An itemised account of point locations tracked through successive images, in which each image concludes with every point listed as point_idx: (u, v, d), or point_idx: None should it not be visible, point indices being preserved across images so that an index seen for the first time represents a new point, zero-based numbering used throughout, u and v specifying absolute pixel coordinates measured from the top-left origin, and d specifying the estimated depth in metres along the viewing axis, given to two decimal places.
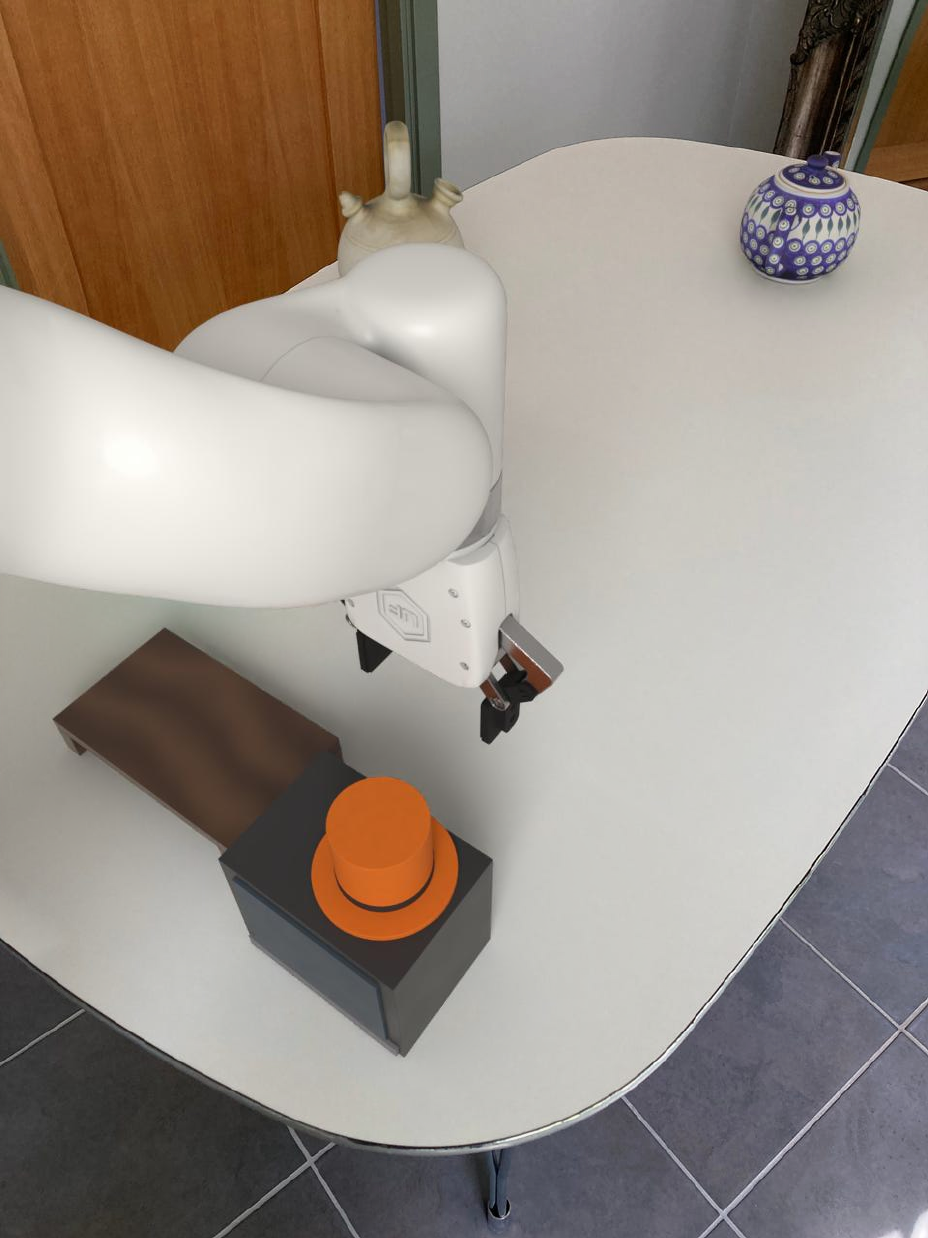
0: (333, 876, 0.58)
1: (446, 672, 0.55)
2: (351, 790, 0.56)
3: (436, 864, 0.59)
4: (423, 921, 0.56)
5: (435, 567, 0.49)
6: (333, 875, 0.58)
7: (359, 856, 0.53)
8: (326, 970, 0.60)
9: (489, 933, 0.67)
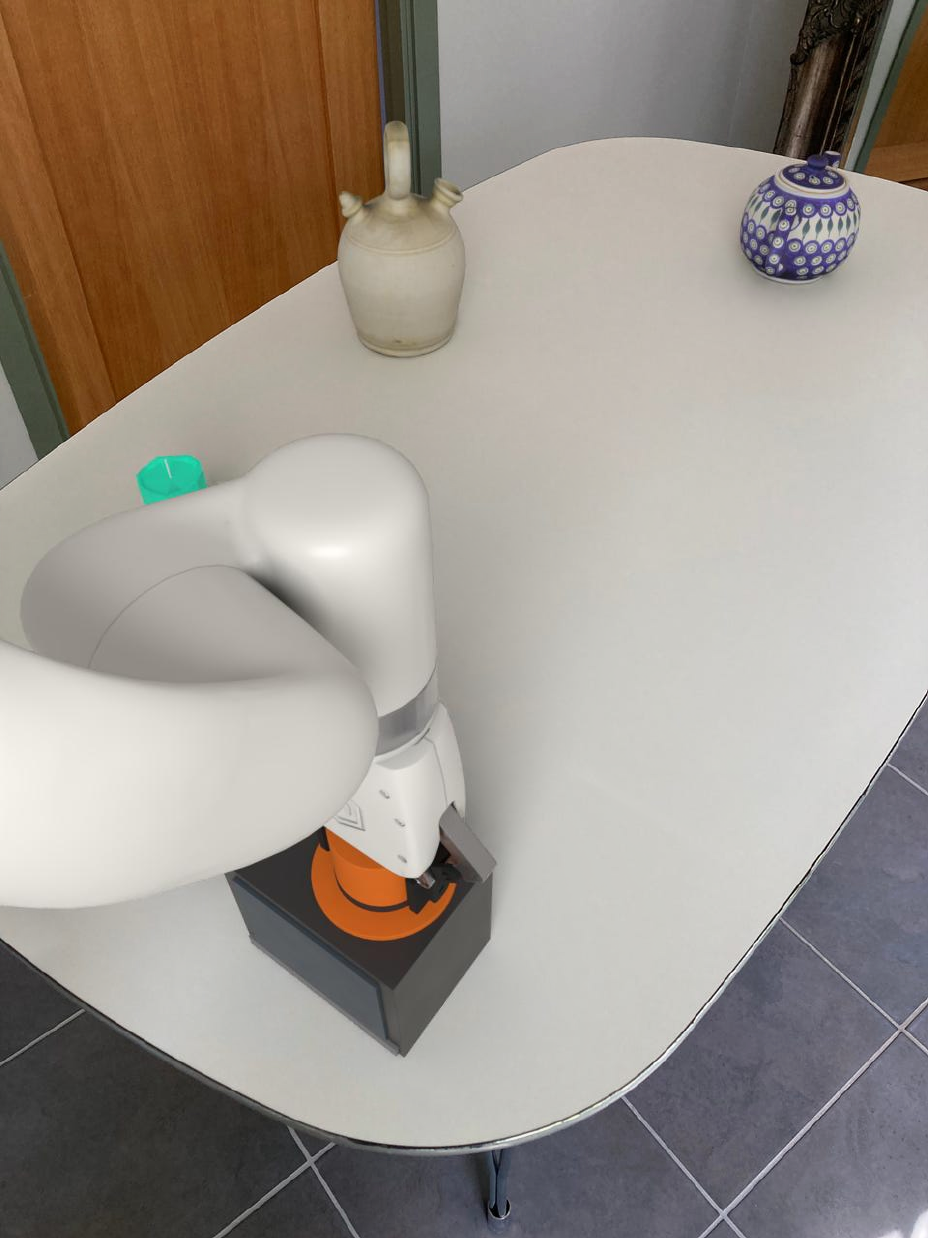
0: (333, 876, 0.58)
1: (384, 860, 0.50)
2: None
3: None
4: (423, 920, 0.56)
5: None
6: (333, 875, 0.58)
7: (359, 856, 0.53)
8: (326, 970, 0.60)
9: (489, 933, 0.67)
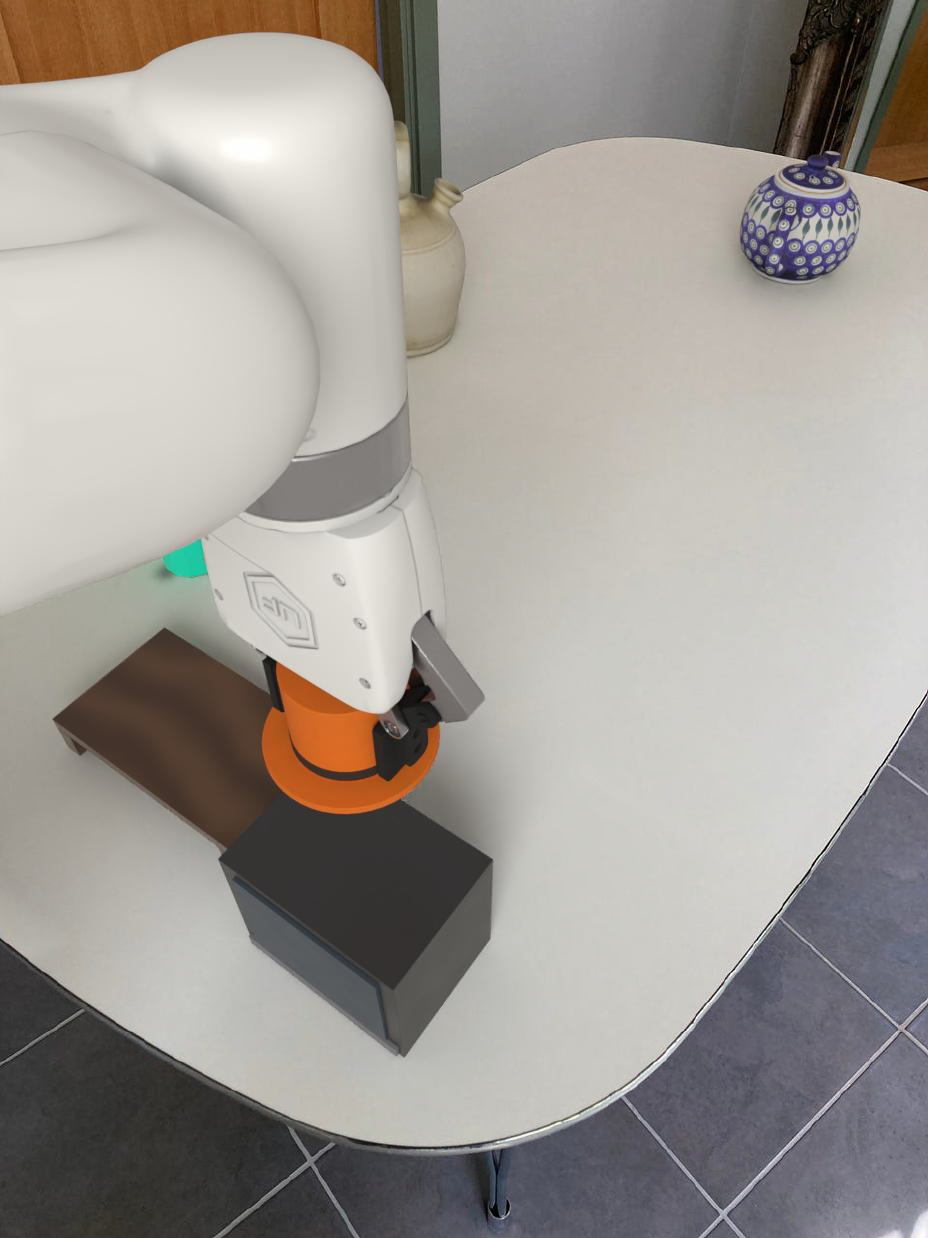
0: (288, 741, 0.48)
1: (343, 691, 0.39)
2: None
3: None
4: (395, 791, 0.46)
5: (312, 542, 0.34)
6: (288, 740, 0.48)
7: (316, 699, 0.43)
8: (326, 970, 0.60)
9: (489, 933, 0.67)
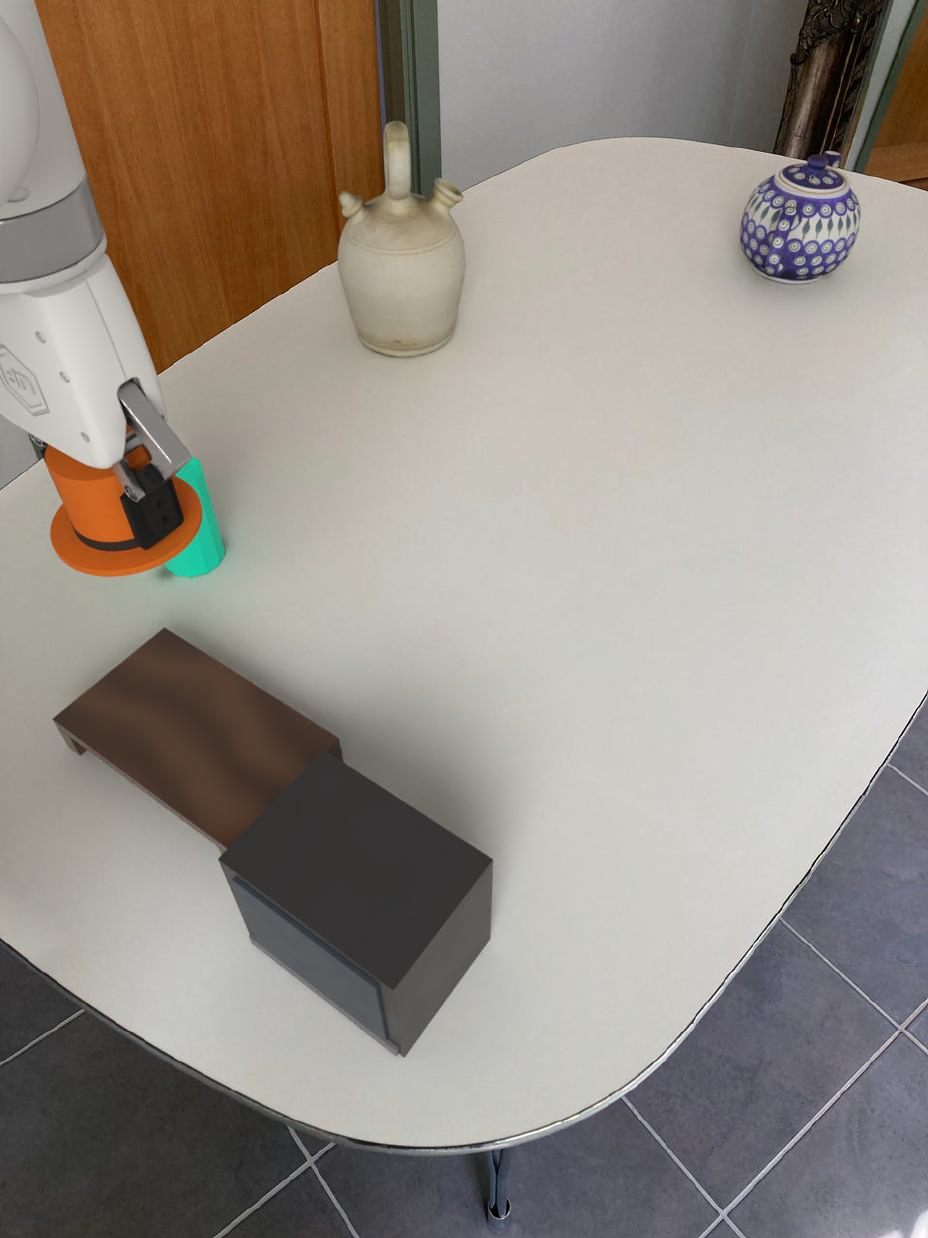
0: (72, 525, 0.58)
1: (76, 450, 0.49)
2: None
3: None
4: (153, 558, 0.56)
5: (15, 304, 0.43)
6: (72, 524, 0.58)
7: (72, 471, 0.53)
8: (326, 970, 0.60)
9: (489, 933, 0.67)
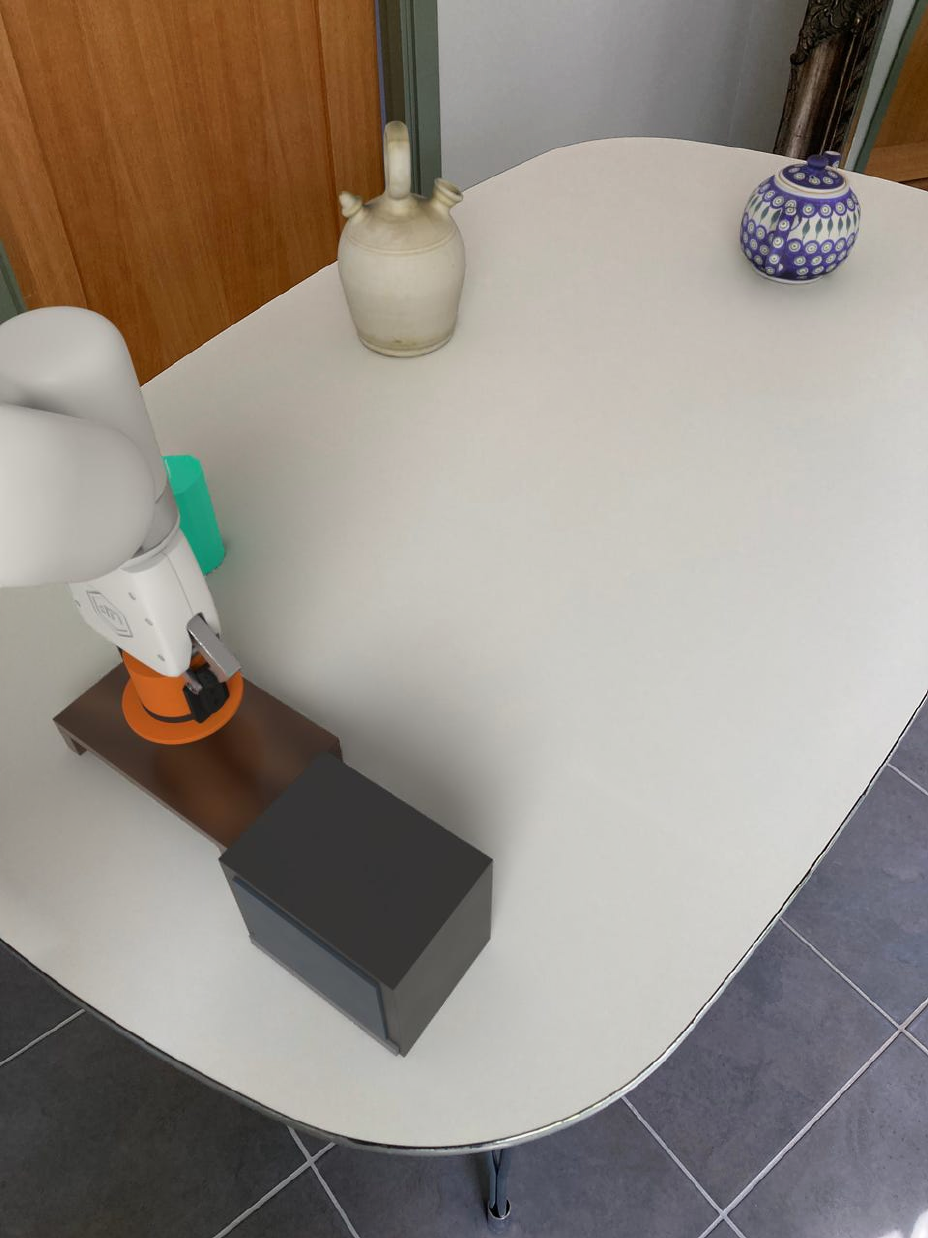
0: (139, 698, 0.72)
1: (152, 663, 0.63)
2: None
3: None
4: (206, 729, 0.70)
5: (114, 574, 0.58)
6: (140, 697, 0.72)
7: (145, 669, 0.67)
8: (326, 970, 0.60)
9: (489, 933, 0.67)
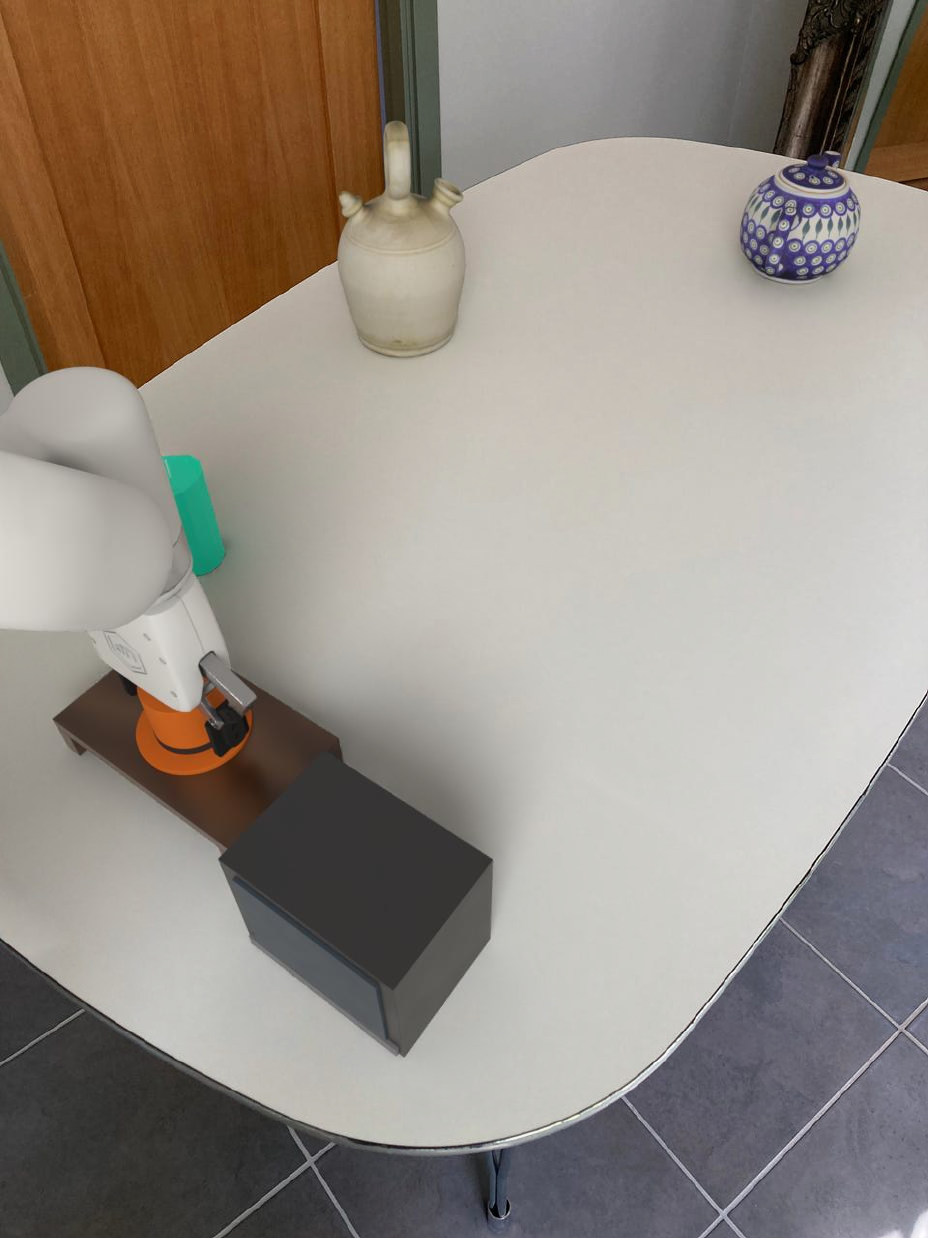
0: (153, 730, 0.75)
1: (165, 698, 0.66)
2: None
3: None
4: (217, 760, 0.73)
5: None
6: (153, 729, 0.75)
7: (159, 704, 0.70)
8: (326, 970, 0.60)
9: (489, 933, 0.67)
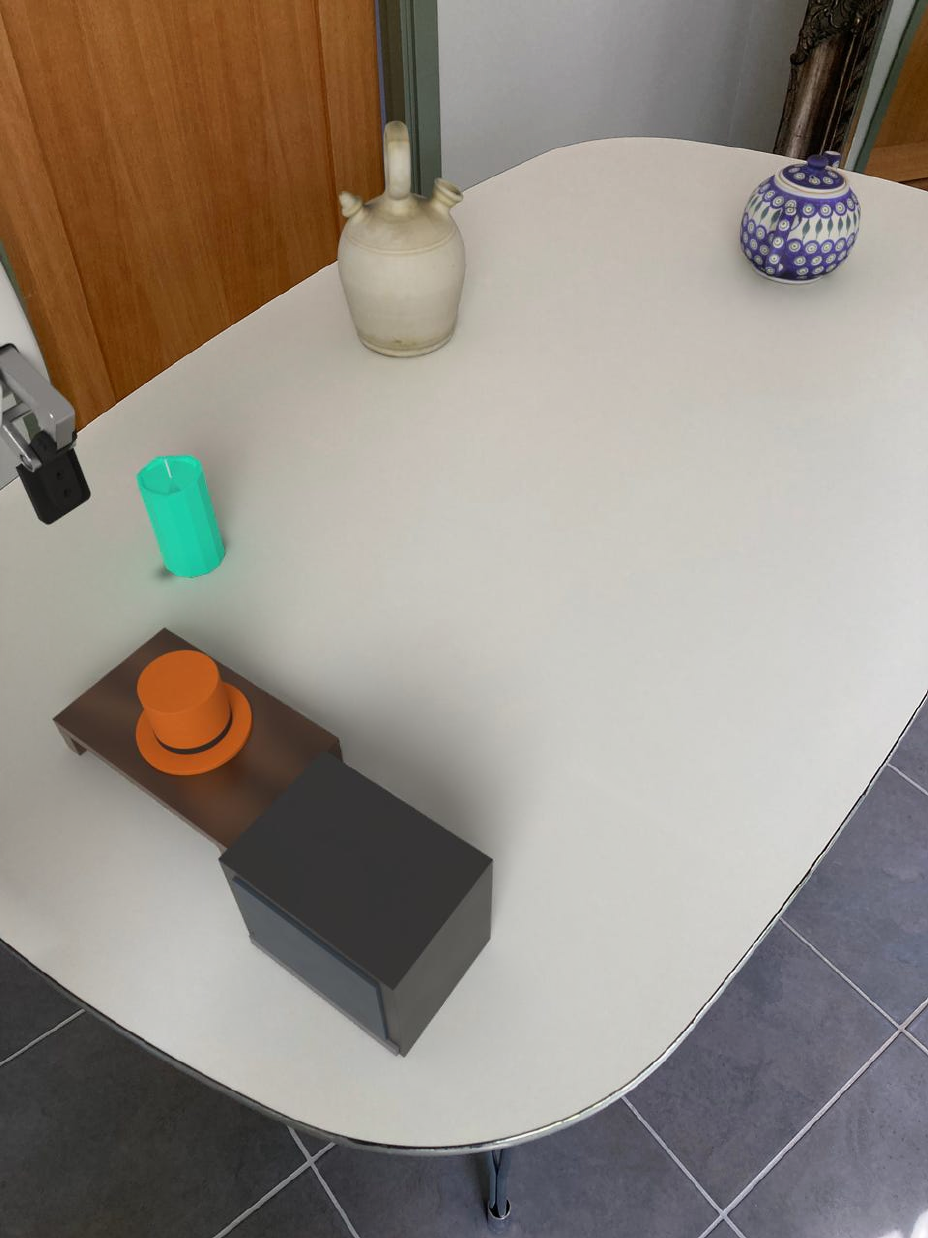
0: (153, 730, 0.75)
1: None
2: (161, 659, 0.73)
3: (234, 721, 0.76)
4: (217, 760, 0.73)
5: None
6: (153, 729, 0.75)
7: (159, 704, 0.70)
8: (326, 970, 0.60)
9: (489, 933, 0.67)
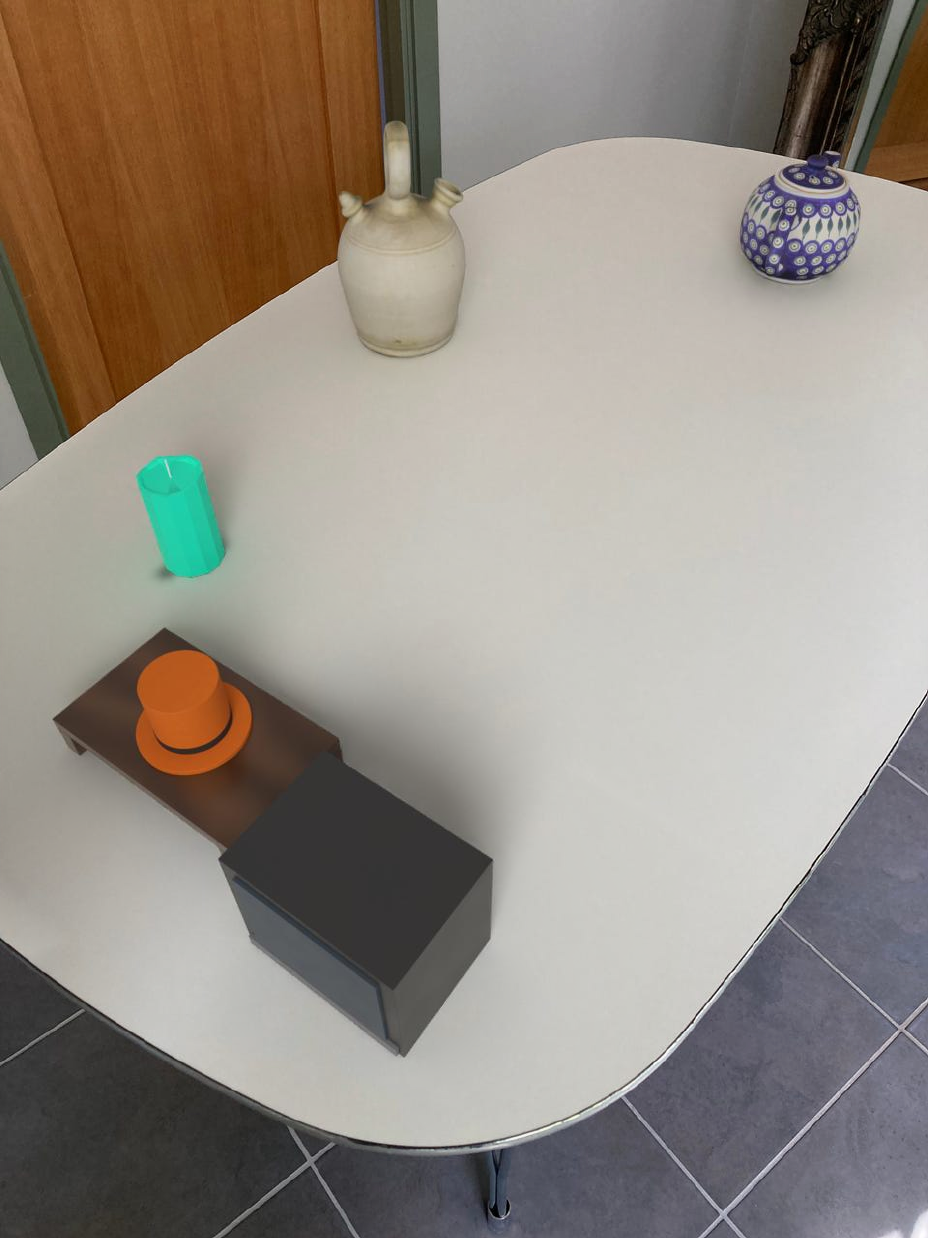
0: (153, 730, 0.75)
1: None
2: (161, 659, 0.73)
3: (234, 721, 0.76)
4: (217, 760, 0.73)
5: None
6: (153, 729, 0.75)
7: (159, 704, 0.70)
8: (326, 970, 0.60)
9: (489, 933, 0.67)
